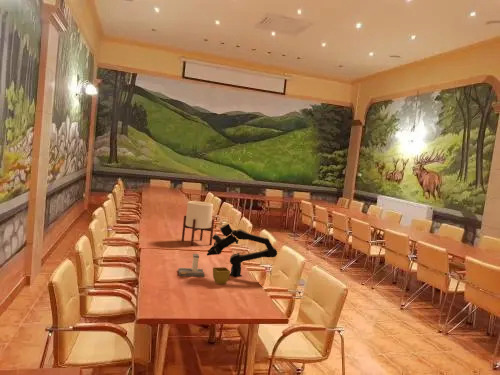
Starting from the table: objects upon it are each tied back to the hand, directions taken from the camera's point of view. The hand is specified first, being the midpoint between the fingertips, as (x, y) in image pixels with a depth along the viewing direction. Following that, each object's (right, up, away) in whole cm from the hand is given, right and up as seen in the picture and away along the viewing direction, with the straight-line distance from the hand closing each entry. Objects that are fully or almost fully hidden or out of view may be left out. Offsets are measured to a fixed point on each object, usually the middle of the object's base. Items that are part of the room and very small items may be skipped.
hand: (207, 253), depth 284 cm
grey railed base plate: (-10, -13, -6) cm, 17 cm away
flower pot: (+10, -16, -19) cm, 27 cm away
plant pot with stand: (-19, -5, +92) cm, 94 cm away
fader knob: (-8, -11, -5) cm, 15 cm away
